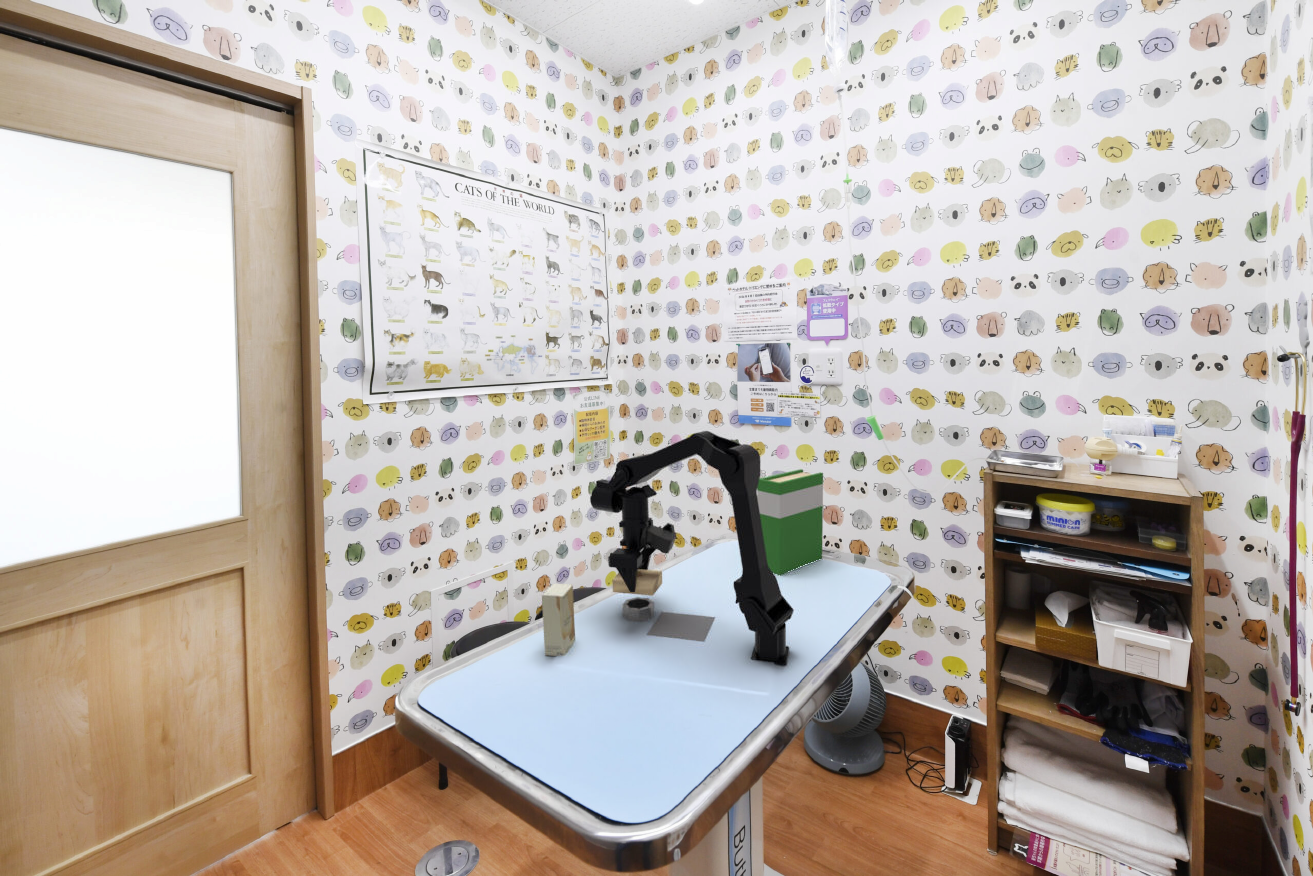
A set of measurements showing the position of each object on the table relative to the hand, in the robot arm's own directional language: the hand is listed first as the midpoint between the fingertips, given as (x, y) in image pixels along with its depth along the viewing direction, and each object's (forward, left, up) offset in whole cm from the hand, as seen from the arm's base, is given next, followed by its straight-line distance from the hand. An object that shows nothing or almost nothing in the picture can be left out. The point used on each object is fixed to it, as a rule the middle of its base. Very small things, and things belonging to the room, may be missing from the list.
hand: (638, 585), depth 128 cm
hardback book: (+40, -29, -7) cm, 50 cm away
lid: (0, 0, -1) cm, 0 cm away
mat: (-3, -10, -7) cm, 13 cm away
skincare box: (-17, +11, -7) cm, 21 cm away
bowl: (0, 0, -7) cm, 7 cm away
